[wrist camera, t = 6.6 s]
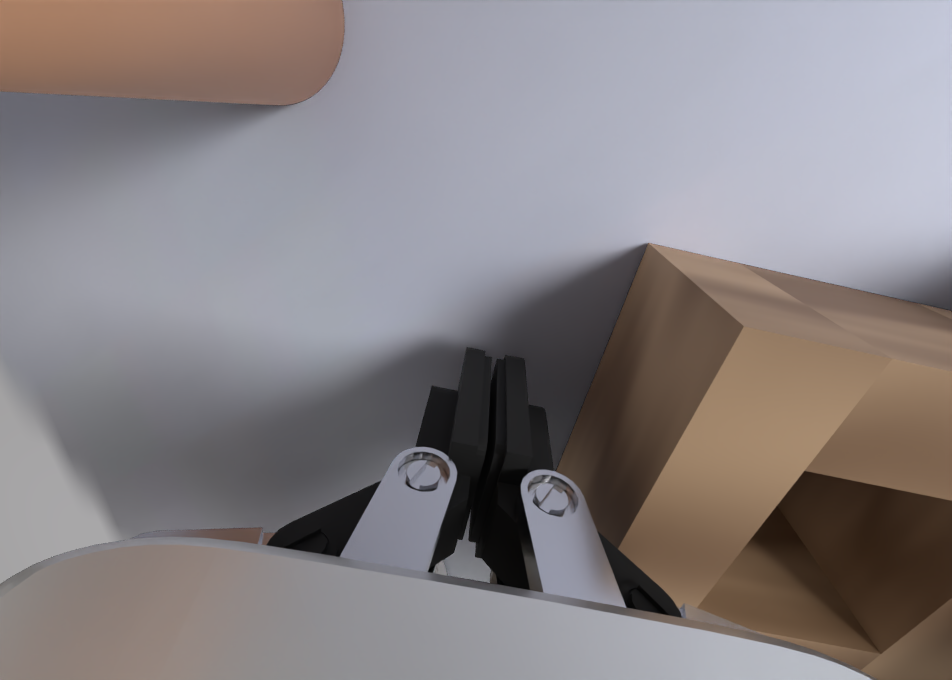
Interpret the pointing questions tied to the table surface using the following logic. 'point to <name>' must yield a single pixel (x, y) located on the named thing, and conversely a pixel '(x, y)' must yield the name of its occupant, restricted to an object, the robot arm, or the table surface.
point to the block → (779, 457)
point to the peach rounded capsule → (171, 48)
